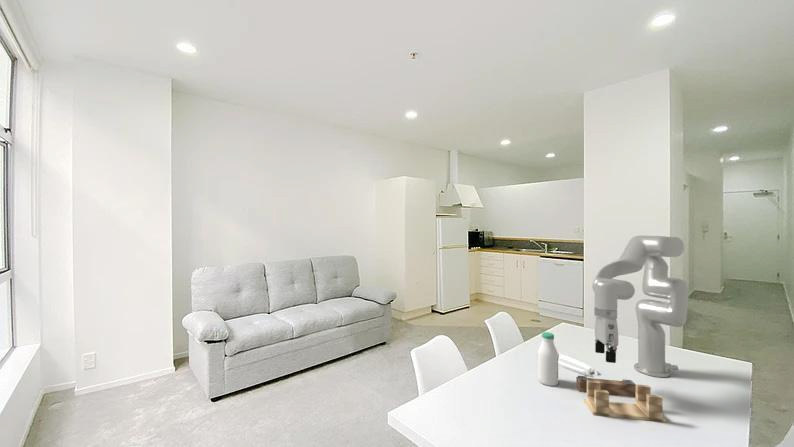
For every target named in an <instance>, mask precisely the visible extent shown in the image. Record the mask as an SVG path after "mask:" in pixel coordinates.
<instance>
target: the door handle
mask: <svg viewBox="0 0 794 447" xmlns="http://www.w3.org/2000/svg"><path fill="white" fill-rule="evenodd" d="M557 353H558V359H561V360H564V361H566V362H567V361H568V362H570V363H573V364H576V365H577V366H579V367H582V368H578V367H576V366H572V365H570V364H568V363H565V362H562V361H561V360H558V367H562V368H564V369H567V370H568V371H572V372H574V373H577V374H579V375H580V376H586V377H588V378H592V377H593V376H592V373H593V374H594V375H597V376H599V371H598V370H597V369H596V367H594V366H592V365H589V364H587V363H585V362H582V361H581V360H578V359H575V358H573V357H571V356H567V355H564V354H562V353H560V352H557Z"/></svg>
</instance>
